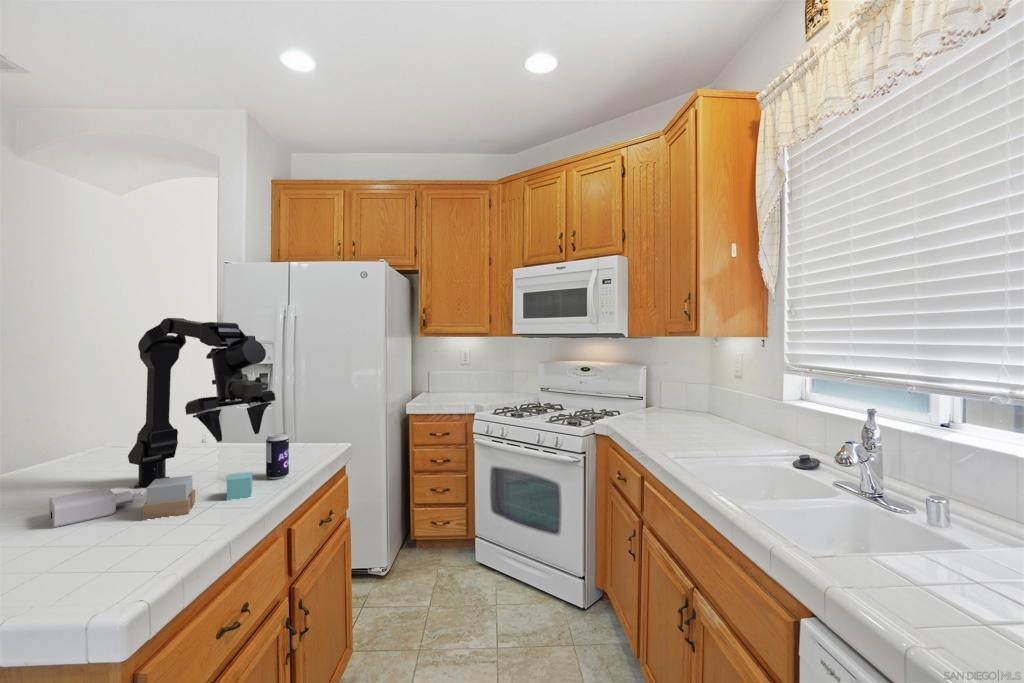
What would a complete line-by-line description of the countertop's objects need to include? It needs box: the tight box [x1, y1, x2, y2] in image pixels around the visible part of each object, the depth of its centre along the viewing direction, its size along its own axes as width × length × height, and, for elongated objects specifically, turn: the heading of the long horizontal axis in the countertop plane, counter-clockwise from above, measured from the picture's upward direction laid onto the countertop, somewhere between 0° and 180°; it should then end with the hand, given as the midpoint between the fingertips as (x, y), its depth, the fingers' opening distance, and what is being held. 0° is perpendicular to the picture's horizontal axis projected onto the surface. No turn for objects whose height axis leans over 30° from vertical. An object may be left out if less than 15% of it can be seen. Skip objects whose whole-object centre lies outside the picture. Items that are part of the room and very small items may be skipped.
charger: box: [48, 487, 144, 528], centre depth 101 cm, size 5×9×15 cm
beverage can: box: [265, 432, 290, 480], centre depth 127 cm, size 6×6×12 cm
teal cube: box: [226, 471, 253, 501], centre depth 112 cm, size 5×5×5 cm
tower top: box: [145, 474, 193, 505], centre depth 102 cm, size 7×7×4 cm
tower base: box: [142, 489, 196, 521], centre depth 102 cm, size 8×8×4 cm
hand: (239, 437), depth 107 cm, fingers open, 9 cm apart
